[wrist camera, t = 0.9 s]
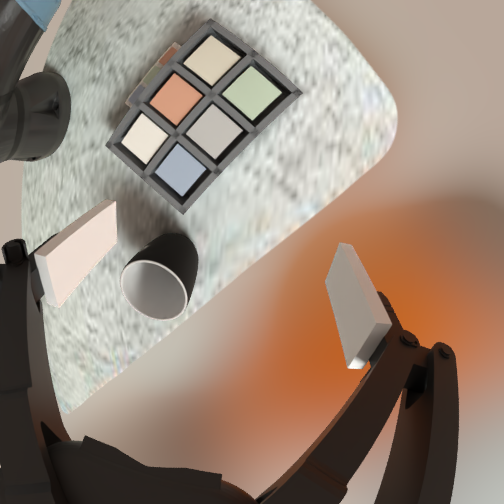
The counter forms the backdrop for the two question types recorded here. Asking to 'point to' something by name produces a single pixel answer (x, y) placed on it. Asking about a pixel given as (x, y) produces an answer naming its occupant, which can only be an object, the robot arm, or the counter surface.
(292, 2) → the counter surface
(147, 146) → the key
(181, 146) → the key
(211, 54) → the key
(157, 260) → the mug
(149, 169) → the gray compartment tray
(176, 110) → the orange square block
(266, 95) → the key
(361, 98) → the counter surface
